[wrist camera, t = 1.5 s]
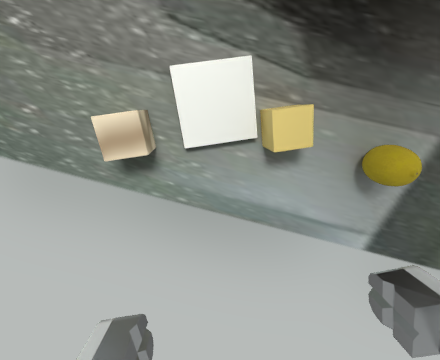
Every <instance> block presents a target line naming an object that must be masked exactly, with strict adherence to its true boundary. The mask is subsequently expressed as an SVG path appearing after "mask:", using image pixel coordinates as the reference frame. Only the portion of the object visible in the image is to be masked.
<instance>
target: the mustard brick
mask: <svg viewBox="0 0 440 360" xmlns="http://www.w3.org/2000/svg"><path fill="white" fill-rule="evenodd" d="M260 114H261V129H262V145H263V146H264V147H265V148H267V149H269V150H271V151H272V152H281V151H287V150H294V149H300V148H307V147H313V114H314V104H312V105H292V106H285V107H278V108H271V109H264V110H260Z"/></svg>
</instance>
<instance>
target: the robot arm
mask: <svg viewBox="0 0 440 360" xmlns="http://www.w3.org/2000/svg"><path fill="white" fill-rule="evenodd" d="M369 284H370V285H371V286H372V287H373V288H372V289H371V291H370V293H369V303H370V305H371V308H372V310H373V312H374V314H375V315H376V317H377V318H378V319H379V320H380V322H381V323H382V324H383V325H385V326H387V327H389V328H391V329H393V336H394V338H395V339H396V340H397V341H398V342H399V343H400V344H401V346H402V347H403V348H404V349H405V350H406V351H407V352H408V354H409V355H410V356H411V357H412V358H415V357H423V356H430V355H437V354H440V280H438V279H437V278H435V277H433V276H432V275H431V274H429V273H427V272H426V271H424V270H423V269H421V268H420V267H418V266H414V265H412V266H407V267H401V268H398V269H392V270H386V271H381V272H376V273H371V274H370V275H369ZM147 323H148V321H147V319H146V316H145V315H144V314H138V315H132V316H125V317H118V318H114V319H108V320H102V321H100V322H99V323H98V324H97V325H96V327H95V329H94V331H93V332H92V334H91V336H90V337H89V339H88V341H87V342H86V344H85V346H84V347H83V349H82V351H81V352H80V354H79V356H78V357H77V359H76V360H152V356H153V337H152V334H151V332H150V331H149V330H147V329H146V326H147Z"/></svg>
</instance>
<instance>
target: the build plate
mask: <svg viewBox="0 0 440 360" xmlns="http://www.w3.org/2000/svg"><path fill="white" fill-rule="evenodd" d="M170 71H171V77H172V82H173V87H174V93H175V98H176V103H177V109H178V114H179V119H180V125H181V130H182V135H183V141H184V146H185V148H191V147H198V146H205V145H211V144H218V143H225V142H232V141H238V140H245V139H252V138H257V125H256V111H255V97H254V83H253V69H252V56H244V57H236V58H228V59H220V60H212V61H204V62H197V63H189V64H181V65H173V66H170Z"/></svg>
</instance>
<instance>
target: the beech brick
mask: <svg viewBox="0 0 440 360" xmlns="http://www.w3.org/2000/svg"><path fill="white" fill-rule="evenodd" d="M91 119H92V123H93V126H94V129H95V132H96V135H97V138H98V141H99V145H100V148H101V151H102V154H103V157H104V160H105V161H111V160H118V159H124V158H131V157H138V156H144V155H149V154H150V153H151V152H152V151H153V150H154V149H155V148H156V145H155V141H154V137H153V132H152V128H151V124H150V120H149V115H148V111H147V110H135V111H128V112H121V113H113V114H106V115H99V116H92V117H91Z"/></svg>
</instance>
